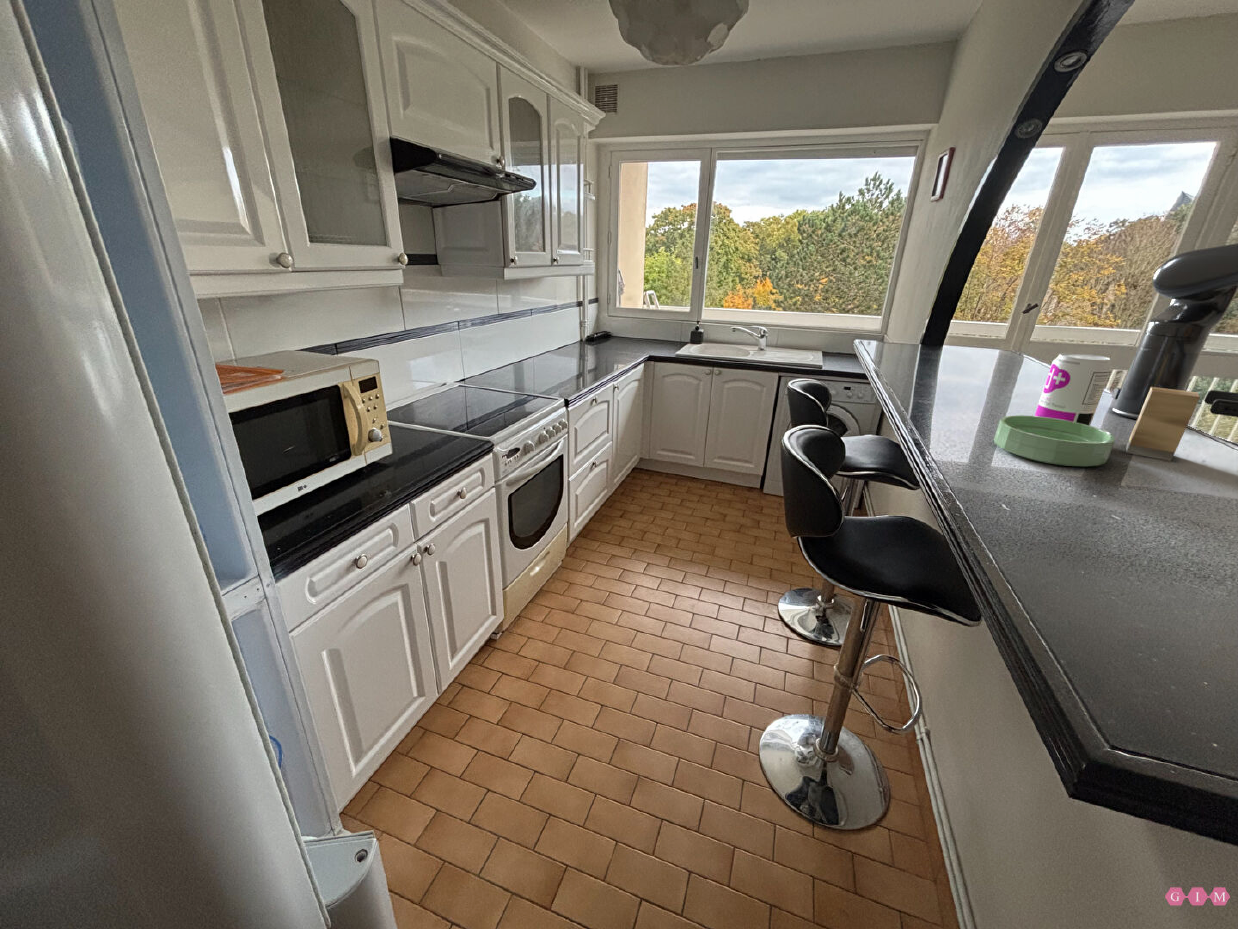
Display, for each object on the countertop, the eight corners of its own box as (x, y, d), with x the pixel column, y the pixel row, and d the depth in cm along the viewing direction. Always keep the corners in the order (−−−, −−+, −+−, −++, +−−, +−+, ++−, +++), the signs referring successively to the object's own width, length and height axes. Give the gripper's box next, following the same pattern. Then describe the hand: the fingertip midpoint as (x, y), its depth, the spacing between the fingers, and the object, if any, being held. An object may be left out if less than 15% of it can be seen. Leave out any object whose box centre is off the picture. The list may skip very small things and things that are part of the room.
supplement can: (1040, 439, 94) (1068, 358, 88) (1022, 426, 101) (1047, 351, 96) (1093, 444, 92) (1125, 361, 86) (1070, 431, 99) (1099, 354, 94)
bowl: (986, 433, 97) (993, 411, 95) (1086, 446, 91) (1095, 422, 89) (1002, 459, 84) (1010, 434, 83) (1120, 476, 78) (1131, 449, 77)
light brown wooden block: (1126, 446, 91) (1151, 386, 87) (1169, 454, 88) (1197, 392, 84) (1126, 452, 88) (1152, 391, 84) (1171, 461, 85) (1200, 397, 80)
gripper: (1375, 387, 75) (1213, 371, 85) (1413, 405, 65) (1225, 385, 75) (1347, 435, 78) (1194, 414, 88) (1379, 460, 68) (1203, 433, 78)
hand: (1209, 401), depth 81 cm, fingers open, 8 cm apart
